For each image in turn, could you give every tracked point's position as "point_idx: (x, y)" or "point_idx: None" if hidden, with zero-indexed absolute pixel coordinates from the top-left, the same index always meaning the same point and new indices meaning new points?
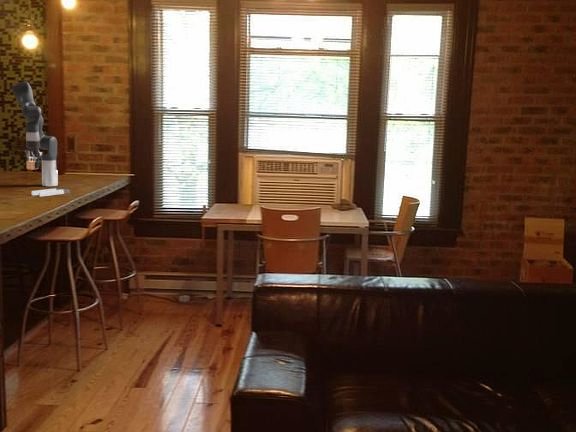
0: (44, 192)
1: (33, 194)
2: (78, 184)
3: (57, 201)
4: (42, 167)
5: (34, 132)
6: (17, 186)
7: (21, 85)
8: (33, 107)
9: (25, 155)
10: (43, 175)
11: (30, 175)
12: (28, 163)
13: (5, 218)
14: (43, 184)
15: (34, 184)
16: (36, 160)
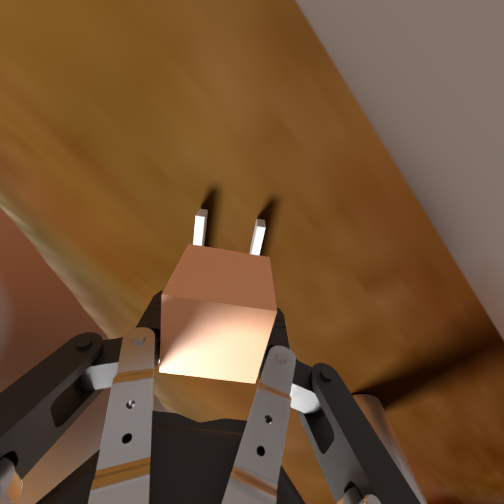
0: (194, 240)
1: (255, 225)
2: (293, 445)
3: (19, 143)
4: (407, 476)
5: None
6: (450, 355)
7: None
8: None
9: (374, 438)
10: (384, 435)
11: (498, 477)
12: (235, 288)
13: None
14: (370, 399)
15: (414, 401)
16: (122, 358)
